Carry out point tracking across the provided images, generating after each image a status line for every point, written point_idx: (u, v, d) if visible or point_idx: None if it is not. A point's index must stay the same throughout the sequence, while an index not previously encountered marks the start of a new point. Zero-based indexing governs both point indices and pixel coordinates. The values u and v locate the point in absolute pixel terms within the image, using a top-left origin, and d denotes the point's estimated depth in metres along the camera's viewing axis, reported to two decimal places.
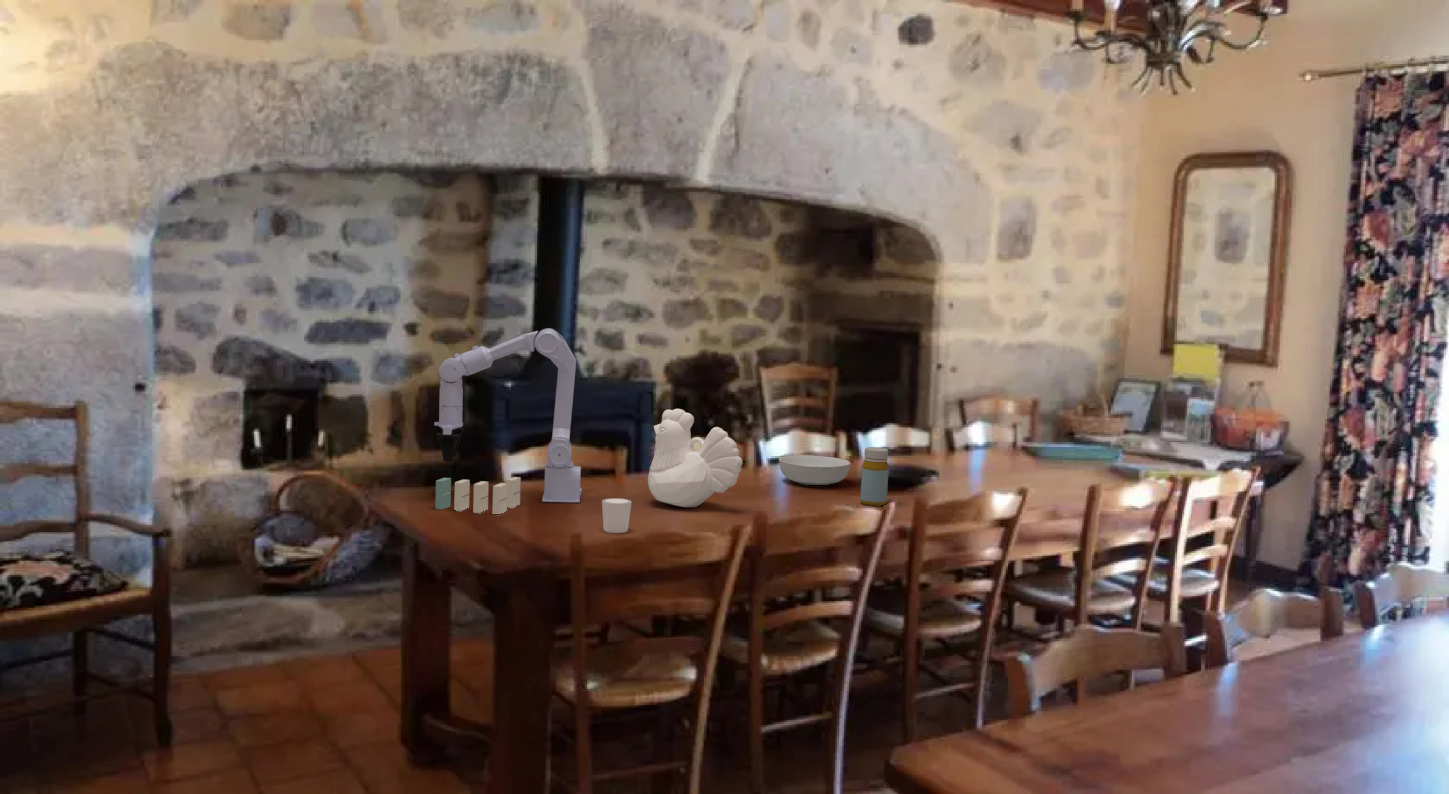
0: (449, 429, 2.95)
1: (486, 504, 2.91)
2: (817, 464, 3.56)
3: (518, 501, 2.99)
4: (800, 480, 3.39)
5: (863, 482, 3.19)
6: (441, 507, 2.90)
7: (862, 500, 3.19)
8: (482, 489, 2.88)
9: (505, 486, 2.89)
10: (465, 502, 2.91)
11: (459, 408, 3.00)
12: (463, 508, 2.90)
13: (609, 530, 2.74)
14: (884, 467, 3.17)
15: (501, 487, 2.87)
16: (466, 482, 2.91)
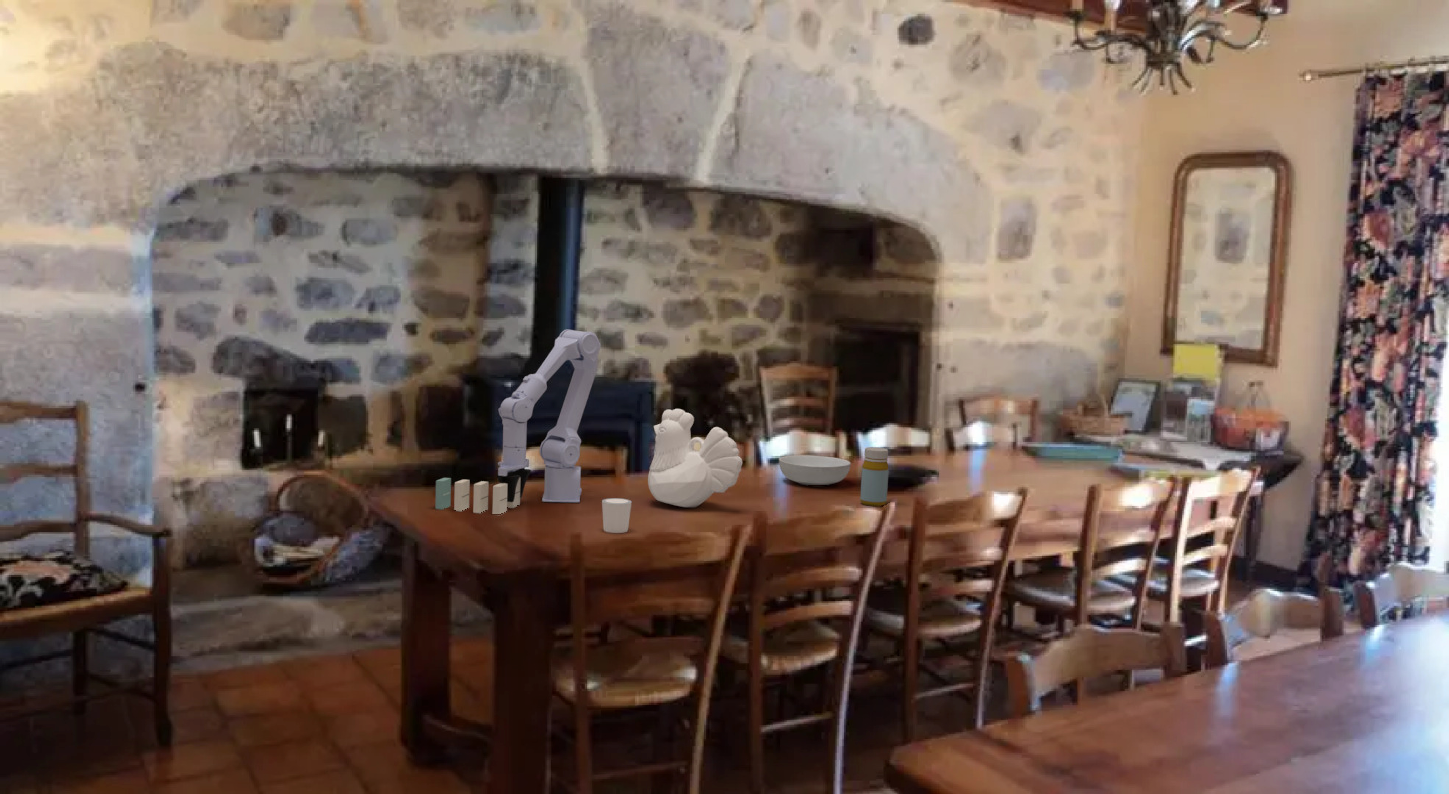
0: (504, 470, 2.89)
1: (486, 504, 2.91)
2: (817, 464, 3.56)
3: (518, 501, 2.99)
4: (800, 480, 3.39)
5: (863, 482, 3.19)
6: (441, 507, 2.90)
7: (862, 500, 3.19)
8: (482, 489, 2.88)
9: (505, 486, 2.89)
10: (465, 502, 2.91)
11: (520, 449, 2.94)
12: (463, 508, 2.90)
13: (609, 530, 2.74)
14: (884, 467, 3.17)
15: (501, 487, 2.87)
16: (466, 482, 2.91)
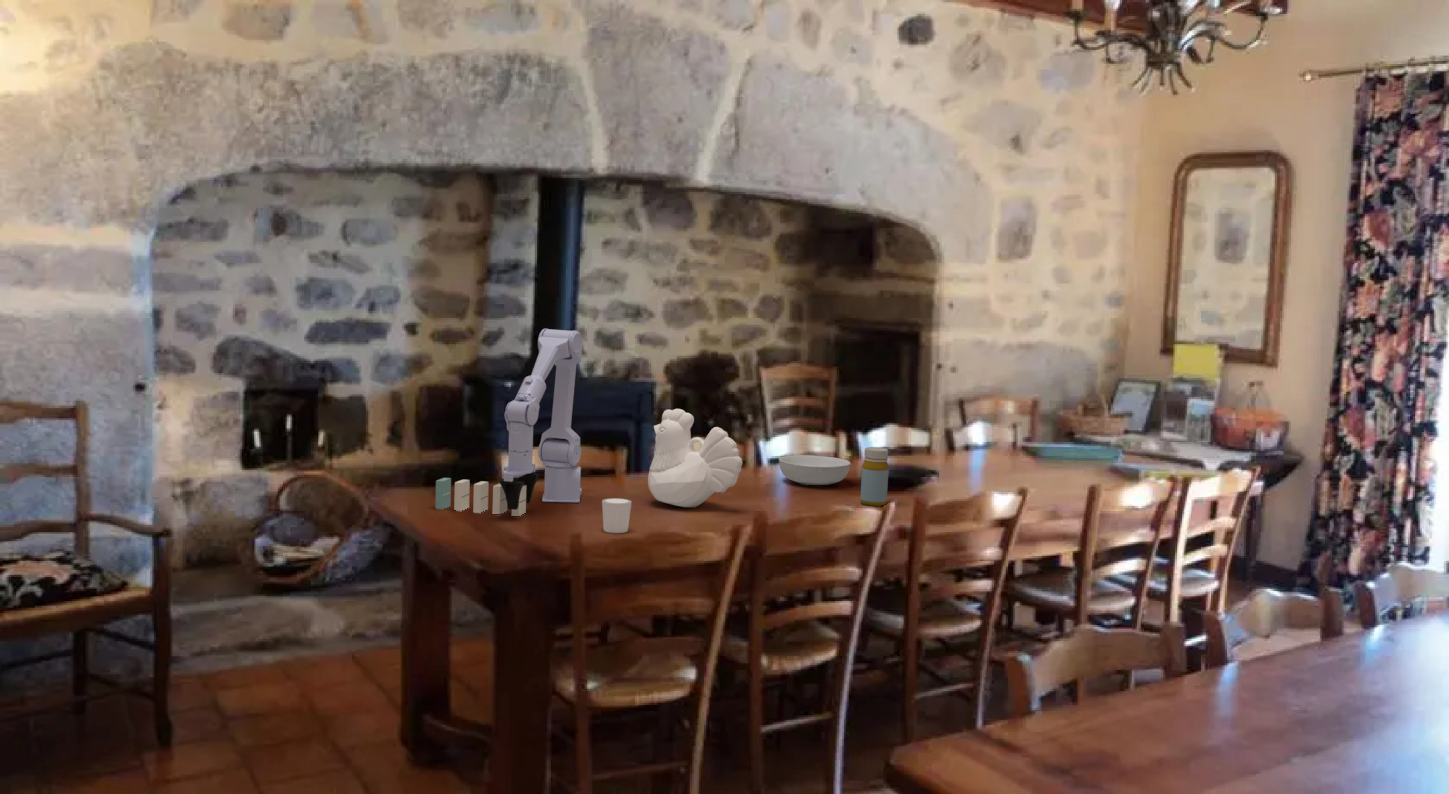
0: (510, 476, 2.80)
1: (486, 504, 2.91)
2: (817, 464, 3.56)
3: (524, 510, 2.89)
4: (800, 480, 3.39)
5: (863, 482, 3.19)
6: (441, 507, 2.90)
7: (862, 500, 3.19)
8: (482, 489, 2.88)
9: None
10: (465, 502, 2.91)
11: (526, 454, 2.84)
12: (463, 508, 2.90)
13: (609, 530, 2.74)
14: (884, 467, 3.17)
15: (501, 487, 2.87)
16: (466, 482, 2.91)
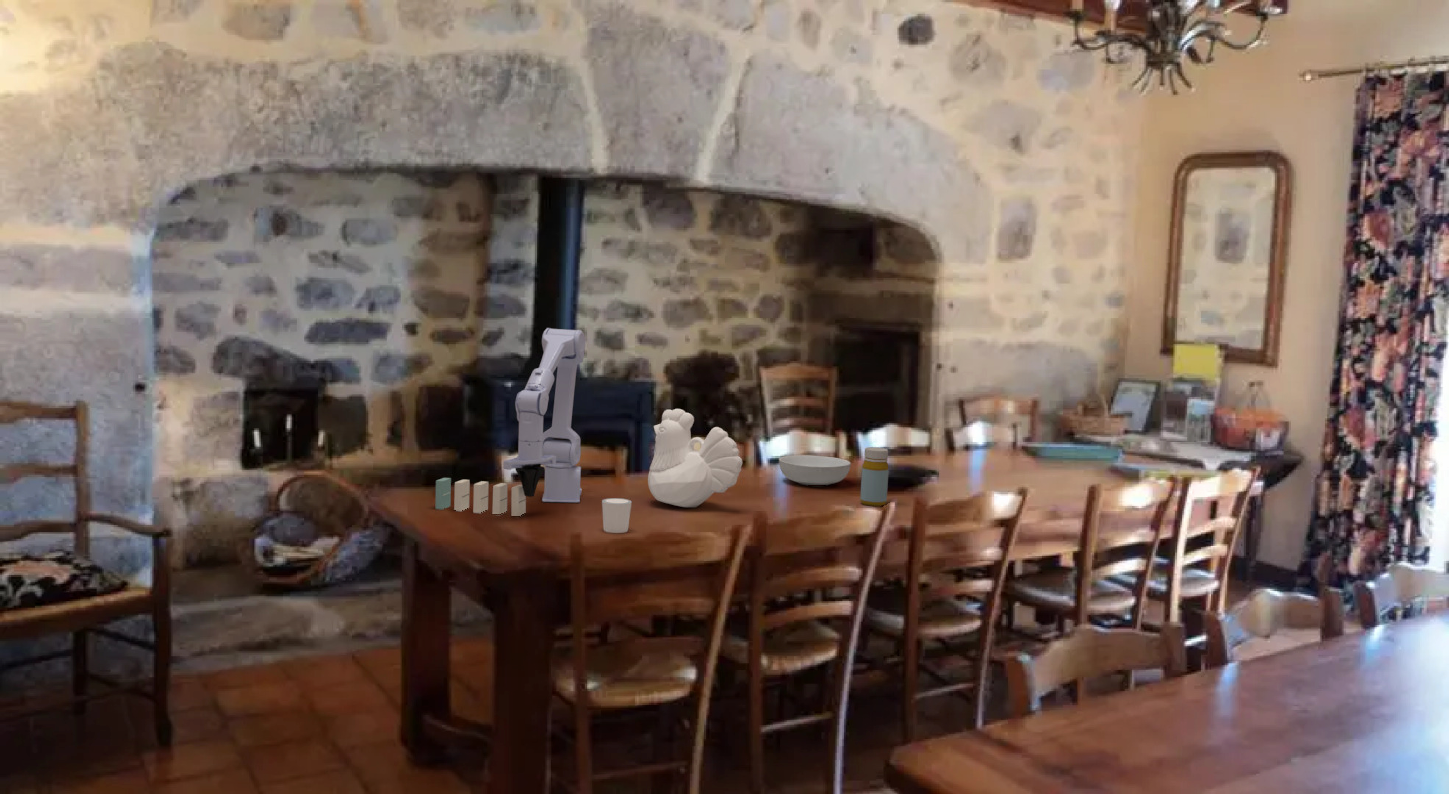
0: (507, 464, 2.80)
1: (486, 504, 2.91)
2: (817, 464, 3.56)
3: (524, 509, 2.89)
4: (800, 480, 3.39)
5: (863, 482, 3.19)
6: (441, 507, 2.90)
7: (862, 500, 3.19)
8: (482, 489, 2.88)
9: (505, 486, 2.89)
10: (465, 502, 2.91)
11: (531, 443, 2.83)
12: (463, 508, 2.90)
13: (609, 530, 2.74)
14: (884, 467, 3.17)
15: (501, 487, 2.87)
16: (466, 482, 2.91)
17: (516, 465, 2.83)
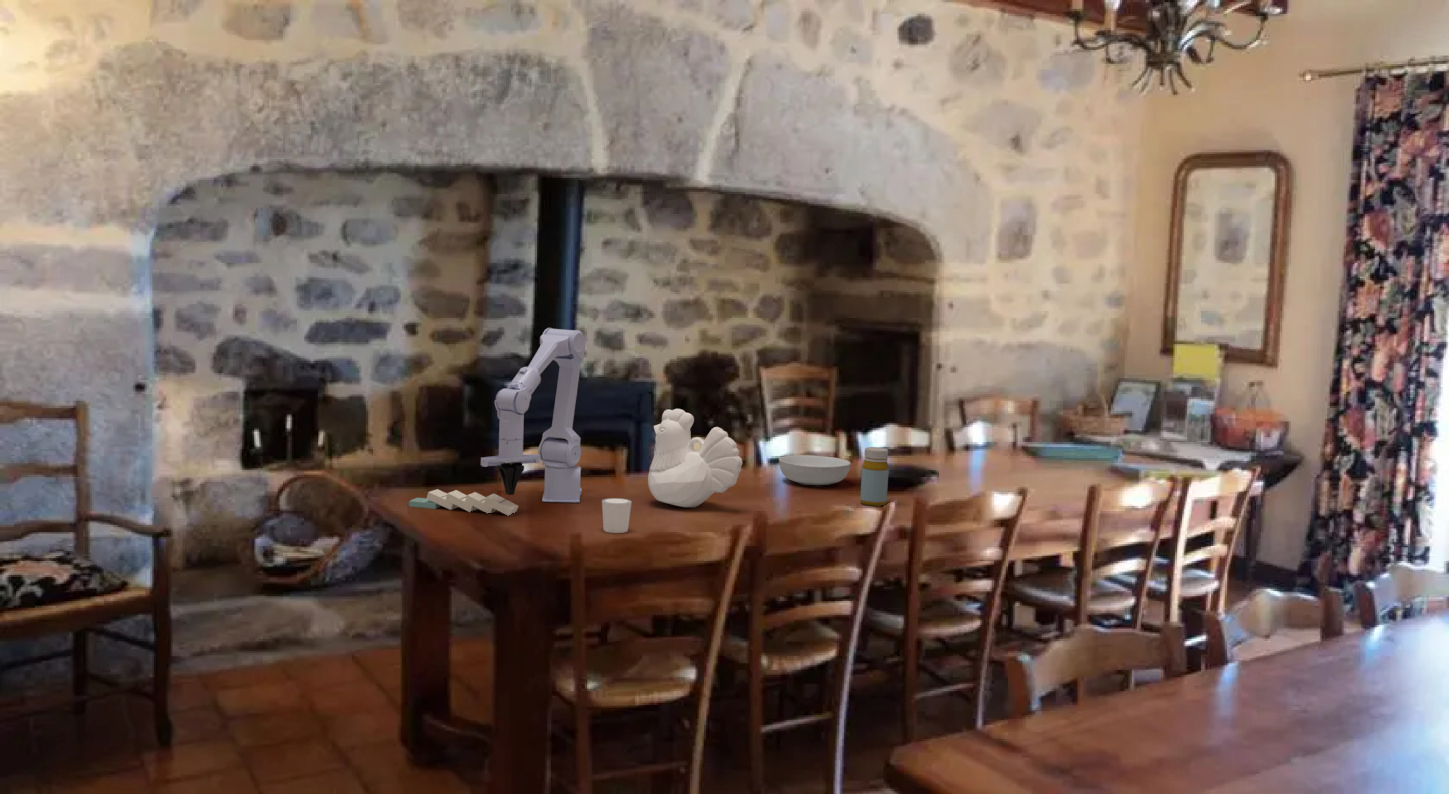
0: (483, 461, 2.82)
1: None
2: (817, 464, 3.56)
3: (513, 504, 2.90)
4: (800, 480, 3.39)
5: (863, 482, 3.19)
6: (433, 504, 2.91)
7: (862, 500, 3.19)
8: (454, 494, 2.90)
9: (474, 493, 2.91)
10: None
11: (508, 442, 2.84)
12: None
13: (609, 530, 2.74)
14: (884, 467, 3.17)
15: (470, 495, 2.89)
16: (435, 490, 2.94)
17: (494, 463, 2.84)
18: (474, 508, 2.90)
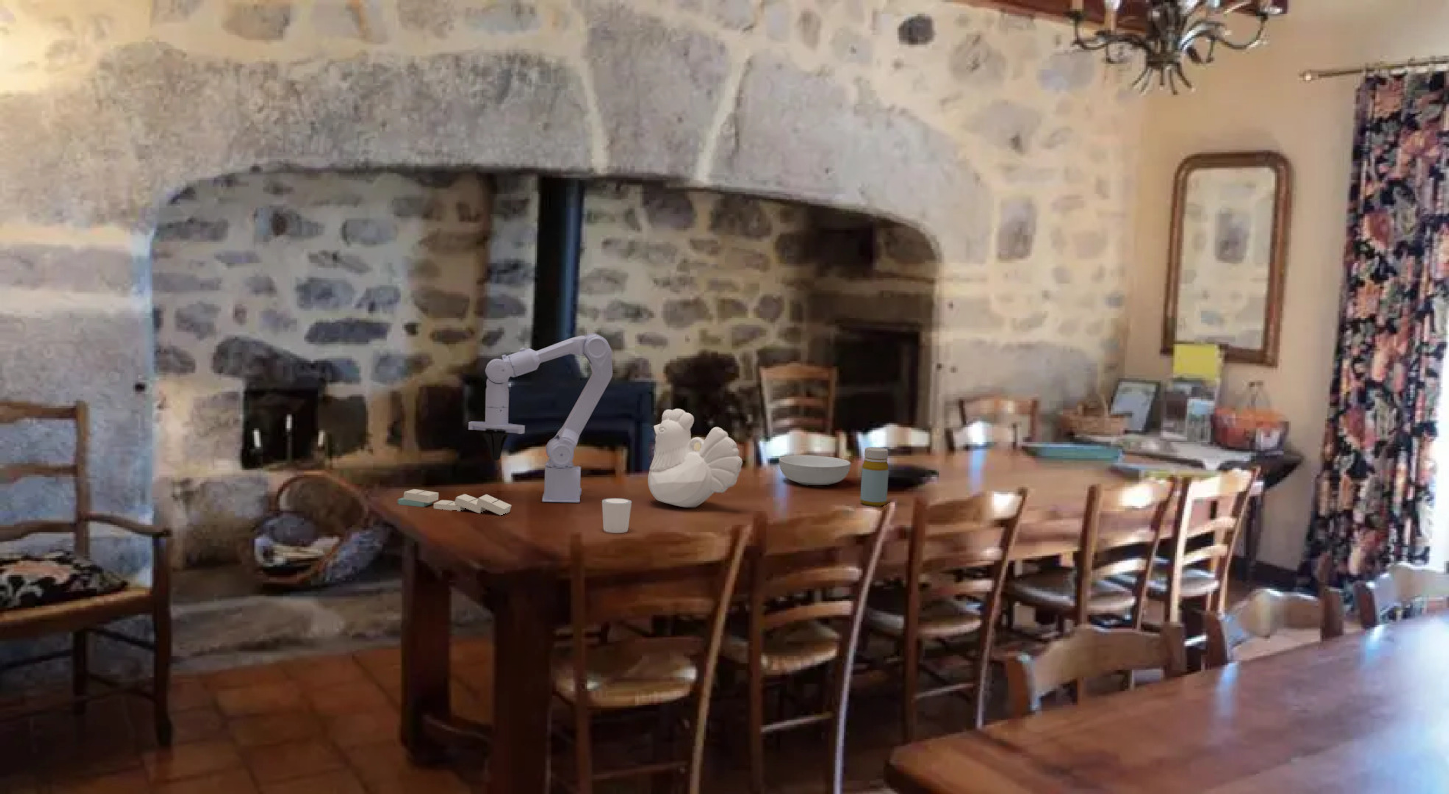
0: None
1: None
2: (817, 464, 3.56)
3: (506, 504, 2.90)
4: (800, 480, 3.39)
5: (863, 482, 3.19)
6: (421, 502, 2.92)
7: (862, 500, 3.19)
8: (440, 503, 2.91)
9: (464, 495, 2.92)
10: (427, 493, 2.94)
11: (487, 408, 2.99)
12: (429, 494, 2.93)
13: (609, 530, 2.74)
14: (884, 467, 3.17)
15: (458, 496, 2.90)
16: (411, 490, 2.96)
17: (480, 427, 3.03)
18: (463, 509, 2.91)
